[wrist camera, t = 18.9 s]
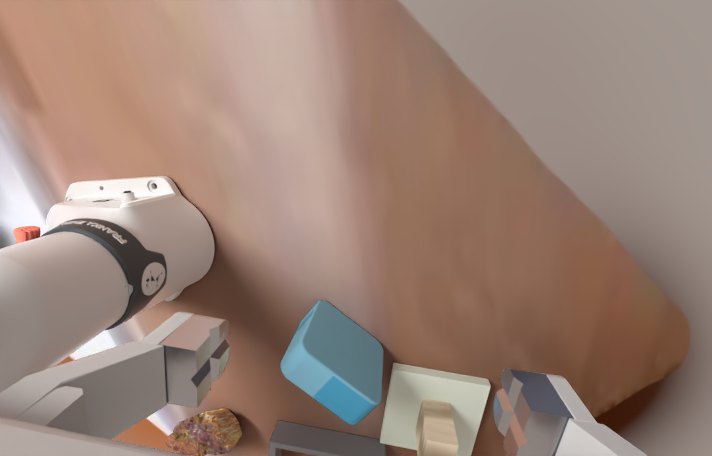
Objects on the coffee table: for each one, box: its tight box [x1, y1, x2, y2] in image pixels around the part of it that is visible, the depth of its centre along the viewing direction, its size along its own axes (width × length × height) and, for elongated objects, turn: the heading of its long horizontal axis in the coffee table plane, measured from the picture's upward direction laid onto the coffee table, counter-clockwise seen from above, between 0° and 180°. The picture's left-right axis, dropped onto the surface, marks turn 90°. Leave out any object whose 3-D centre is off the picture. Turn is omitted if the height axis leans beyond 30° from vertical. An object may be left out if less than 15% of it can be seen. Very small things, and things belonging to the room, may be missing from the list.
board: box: [380, 363, 491, 456], centre depth 50 cm, size 14×14×2 cm
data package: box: [280, 300, 383, 425], centre depth 43 cm, size 12×4×12 cm, turn 51°
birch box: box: [415, 398, 459, 456], centre depth 46 cm, size 6×4×7 cm, turn 173°
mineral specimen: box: [166, 408, 242, 456], centre depth 54 cm, size 12×8×7 cm
